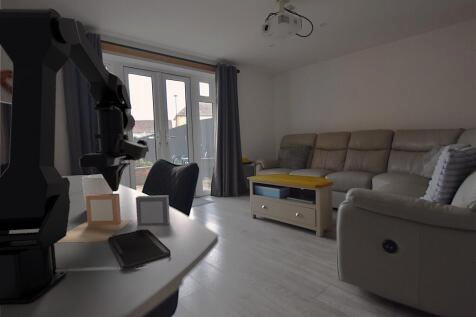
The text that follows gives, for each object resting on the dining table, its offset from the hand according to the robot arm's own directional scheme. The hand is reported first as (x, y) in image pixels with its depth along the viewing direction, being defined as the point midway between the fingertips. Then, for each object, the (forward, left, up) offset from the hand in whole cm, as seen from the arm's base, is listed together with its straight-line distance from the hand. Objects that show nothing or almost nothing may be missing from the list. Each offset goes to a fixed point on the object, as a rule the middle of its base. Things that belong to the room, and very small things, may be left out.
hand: (115, 191), depth 64 cm
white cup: (+8, +9, -7) cm, 14 cm away
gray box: (-7, -12, -7) cm, 16 cm away
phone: (-19, -13, -8) cm, 24 cm away
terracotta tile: (-6, 0, -7) cm, 9 cm away
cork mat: (-10, 0, -7) cm, 12 cm away
